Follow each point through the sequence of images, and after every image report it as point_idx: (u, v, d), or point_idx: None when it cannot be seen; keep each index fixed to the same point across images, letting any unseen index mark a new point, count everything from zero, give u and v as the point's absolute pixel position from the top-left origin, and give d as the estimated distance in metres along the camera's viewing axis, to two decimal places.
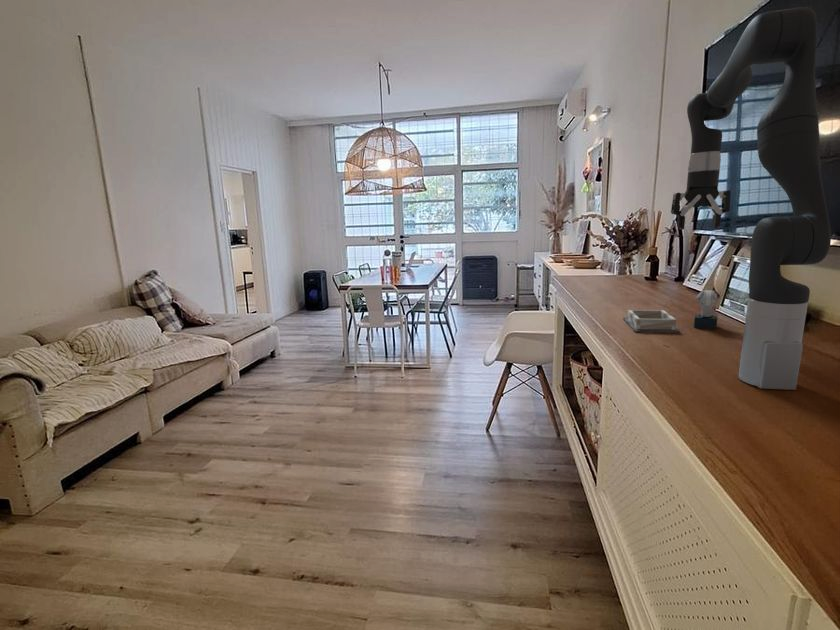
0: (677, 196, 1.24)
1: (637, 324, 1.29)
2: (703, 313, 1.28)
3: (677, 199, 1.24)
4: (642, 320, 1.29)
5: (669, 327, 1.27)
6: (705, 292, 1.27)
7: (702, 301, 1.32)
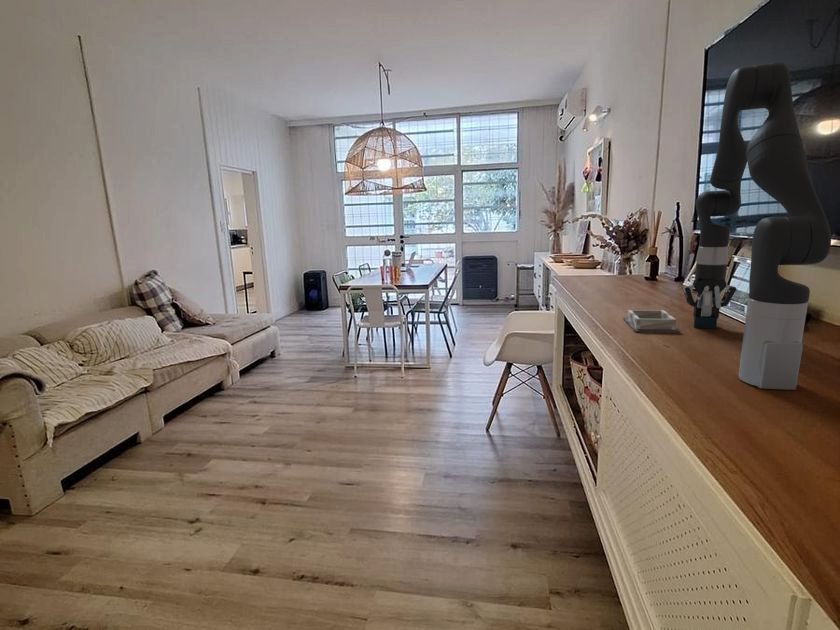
0: (687, 290, 1.29)
1: (637, 324, 1.29)
2: (703, 312, 1.28)
3: (688, 293, 1.29)
4: (642, 320, 1.29)
5: (669, 327, 1.27)
6: None
7: None
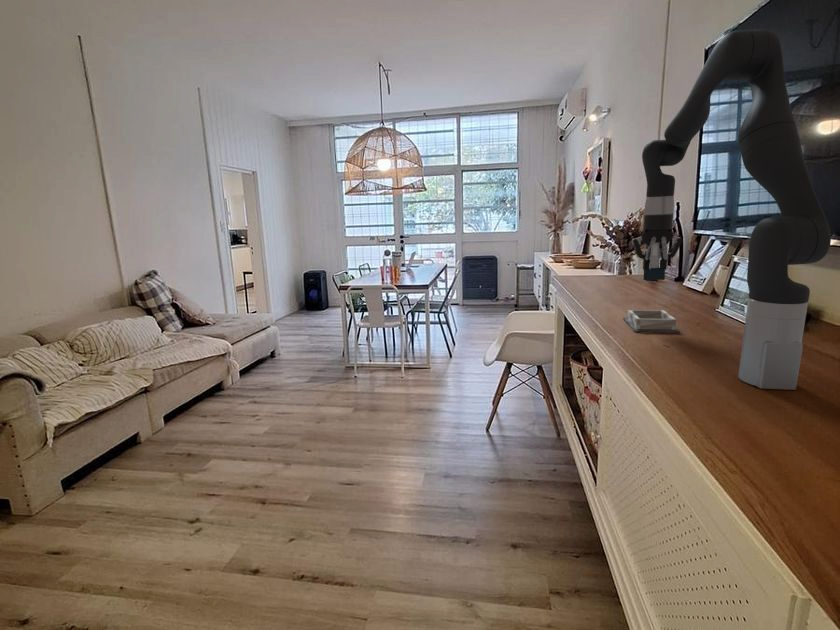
0: (635, 242, 1.29)
1: (637, 324, 1.29)
2: (651, 264, 1.28)
3: (636, 245, 1.29)
4: (642, 320, 1.29)
5: (669, 327, 1.27)
6: None
7: None
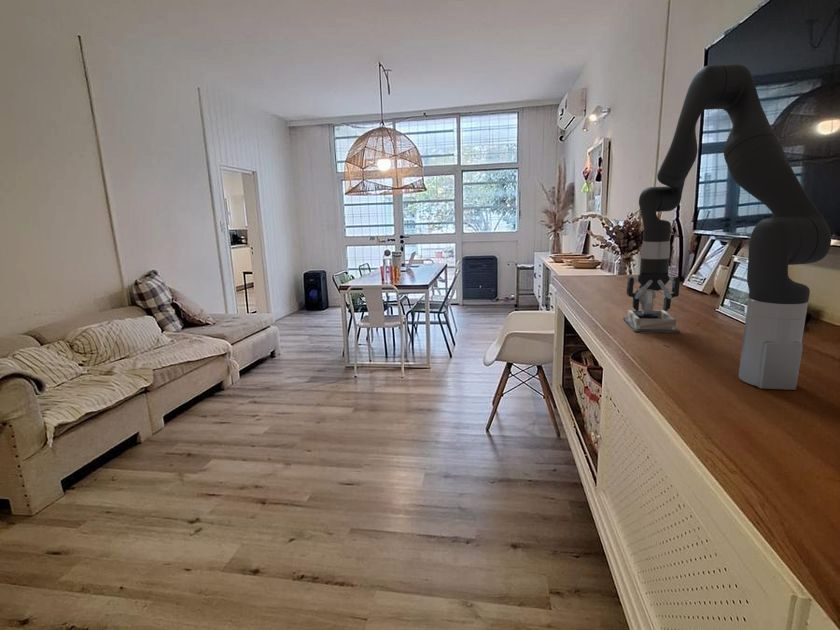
0: (630, 280, 1.31)
1: (637, 324, 1.29)
2: (645, 310, 1.31)
3: (631, 283, 1.32)
4: (642, 320, 1.29)
5: (669, 327, 1.27)
6: (646, 290, 1.31)
7: (642, 299, 1.35)
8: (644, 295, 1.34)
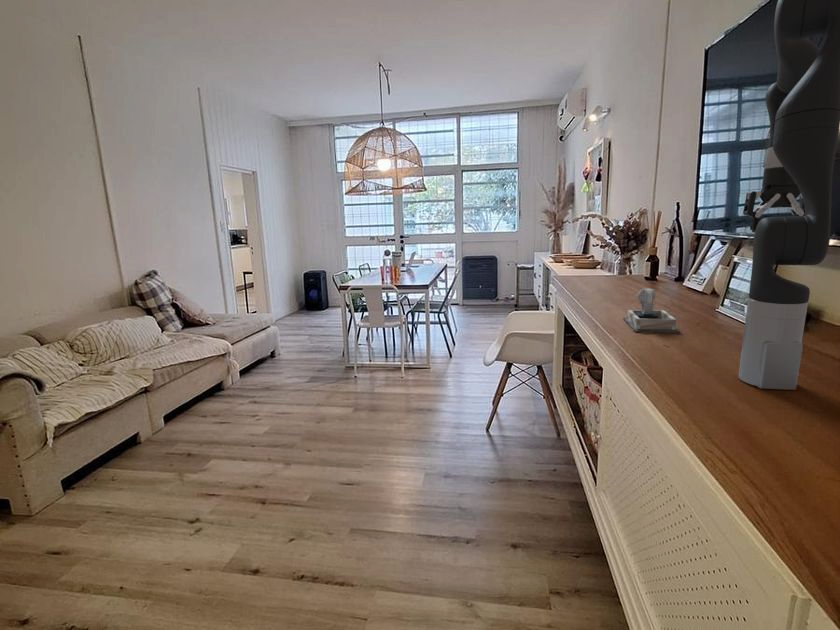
0: (752, 195, 1.11)
1: (637, 324, 1.29)
2: (645, 310, 1.31)
3: (752, 199, 1.11)
4: (642, 320, 1.29)
5: (669, 327, 1.27)
6: (646, 290, 1.31)
7: (642, 299, 1.35)
8: (644, 295, 1.34)
